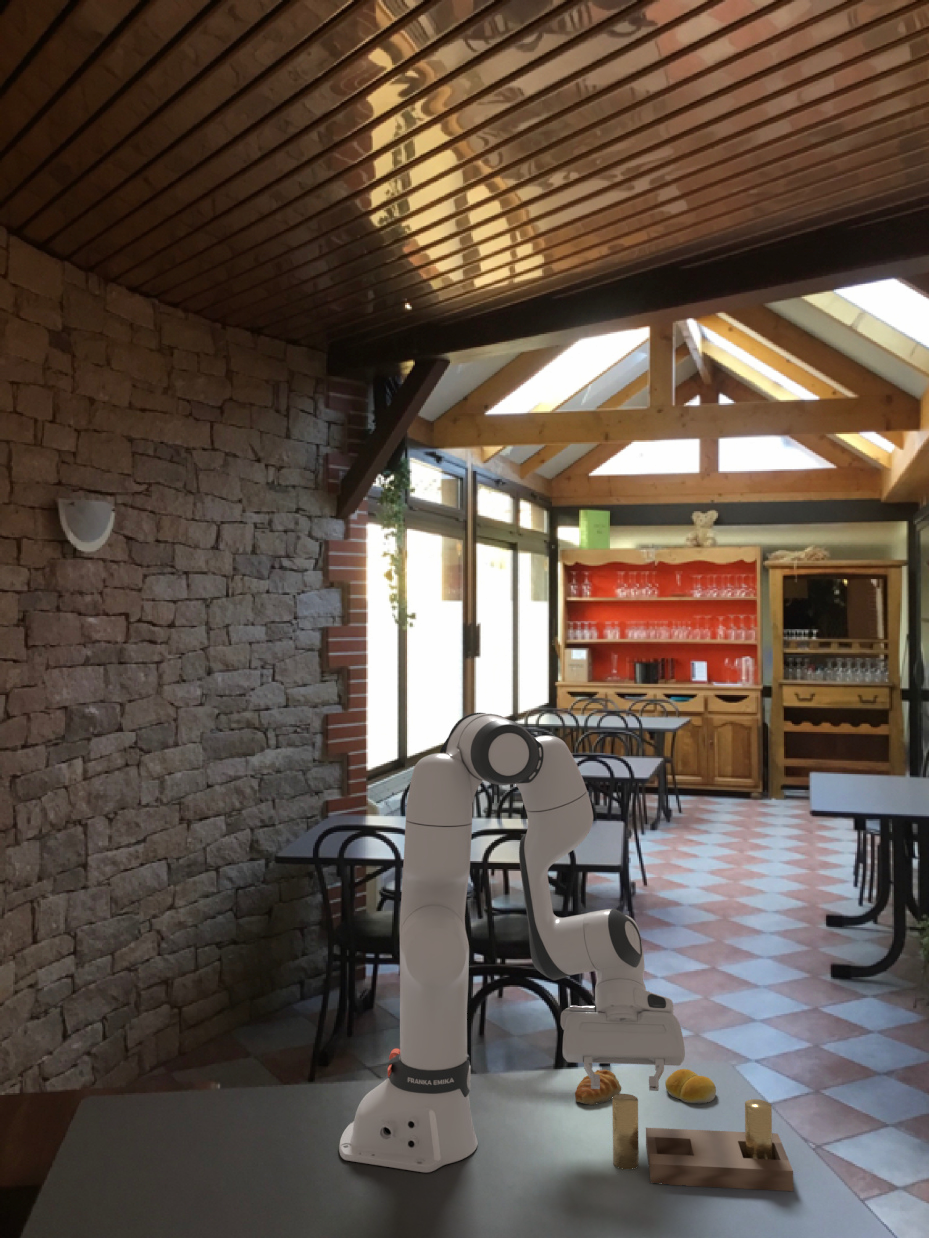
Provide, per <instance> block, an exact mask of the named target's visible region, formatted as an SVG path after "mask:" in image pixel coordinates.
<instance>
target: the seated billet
mask: <svg viewBox="0 0 929 1238" xmlns="http://www.w3.org/2000/svg"><path fill="white" fill-rule="evenodd" d="M772 1109H773V1108H772V1104H771V1103H770V1102H768V1101H766V1100H763V1099H758V1098H757V1099H755V1098H754V1099H752V1098H751V1099H748V1100H746V1101H745V1102H744V1132H745V1150H746V1158H750V1159H771V1160H772V1133H773V1127H772V1126H773V1120H772V1119H773V1118H772V1114H773V1113H772V1112H773V1111H772Z"/></svg>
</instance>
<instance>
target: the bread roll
mask: <svg viewBox="0 0 929 1238" xmlns="http://www.w3.org/2000/svg"><path fill="white" fill-rule="evenodd" d="M664 1083H665V1090H666V1091H667V1093H668V1095H669V1096H671V1097H673V1098H675V1099H678V1100H681V1101H682V1102H684V1103H687V1104H692V1103H698V1104H706V1103H707V1102H708V1103H711V1102H712V1101H713V1100H714V1099H715V1098H716V1093H717V1089H716V1085H715V1083H714V1081H713V1080H712V1079H711V1078H709V1077H707V1076H704V1075H698V1074H697V1073H696V1072H695V1071H692V1070H690V1069H685V1068H681V1069H677V1070H675V1071H673V1072H672V1073H671V1074H670V1075H669V1076H668V1077H667V1078H666V1079H665V1082H664Z"/></svg>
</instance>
